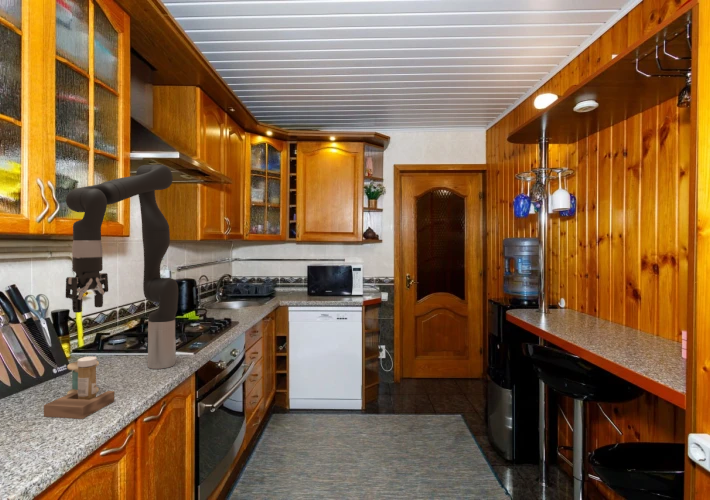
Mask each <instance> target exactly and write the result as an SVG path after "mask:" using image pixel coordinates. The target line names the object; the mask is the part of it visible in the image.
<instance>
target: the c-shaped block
mask: <svg viewBox="0 0 710 500" xmlns="http://www.w3.org/2000/svg"><path fill="white" fill-rule="evenodd" d="M114 402H115V390H107V391H105V392H103V393H101V394H98V395H96V397H95V398H93V399H91V400H83V399H78V390H77V391H75V392H72V393H70V394H68V395H67V394H65V395H64V396H61V397H59V398H56V399H55V400H53V401H50V402H48V403H46V404H44V405H43V417H46V418H47V417H48V418H63V419H65V418H66V419H80V420H83V419H85V418H87V417H88V416H90V415H92V414H94V413H95V412H98V411H99V410H101V409H103V408H105V407H107V406H109V405H110V404H112V403H114Z"/></svg>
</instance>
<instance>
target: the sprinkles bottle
mask: <svg viewBox="0 0 710 500" xmlns="http://www.w3.org/2000/svg"><path fill="white" fill-rule="evenodd" d="M97 361H98V358H97V357H96V356H84V357H79V358H78V359H77V362H78V363H77V366H78V399H83V400H91V399H93V398H95V397H97V393H96V386H97V366H96V364H97Z"/></svg>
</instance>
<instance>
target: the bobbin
mask: <svg viewBox="0 0 710 500" xmlns="http://www.w3.org/2000/svg"><path fill="white" fill-rule="evenodd" d="M77 363H78V361H73V362H71V363H69V364H67V370H69V371H71V389H70V390H68V391H67V393H66V395H68V394H70V393H72V392H75V391H77V390H78V366H77ZM99 365H100V362H99V360H97V364H96V367H98V366H99ZM98 392H99V386H97V385H96V394H97V393H98Z"/></svg>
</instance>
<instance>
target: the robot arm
mask: <svg viewBox="0 0 710 500" xmlns="http://www.w3.org/2000/svg"><path fill="white" fill-rule="evenodd" d="M173 176H174V175H173V173H172V171H171V169H170V167H168V166H167V165H165V164H144V165H143V164H142V165H140V166H139V167H138V168H137V169H136V173H135V175H132V176H131V175H130V176H126V177H119V178H115V179H111V180H108V181H104V182H102V183H99V184H94V185H87V186H81V187H78V188H75V189H72V190H71V191H69V192H68V193H67V195H66V197H65V204H66V206H67V207H68V208H69V209H70V210H72V211H73V212H76V213H83V216H82V218H81V219H80V220H78V221H77V220H76V221H75V222H74V223H73V225H72V248H71V252H72V253H71V256H72V257H71V258H72V260H71V261H72V262H71V263H72V264H71V265H72V272H74V273H75V276H67V277H66V278H65V299H69V300H72V301H71V302H72V304H71V305H72V306H71V307H72V309H71V310H72V312H73V313H75V314H76V313H77V314H78V313H82V312H83V299H82V298H83V295H84V294H86V293H87V291H89V290H91V291H92V292H93V294H94V297H93V299H94V300H93V302H94V307H95V308H102V307H104V295H105V293H108V292H109V278H108V277H109V276H108V273H107V272H103V273H102V271H104V270H103V266H104V265H103V262H104V261H103V245H102V244H103V243H102V224H103V222H104V219H105V214H106V212H107V208H108V205H109V206H110V205H114V204H117V203H119V202H122V201H124V200H127V199H129V198H132V197H136V196H138V199H139V207H140V216H141V217H140V218H141V235H142V237H141V238H142V246H143V247H142V248H143V283H142V284H143V285H142V286H143V287H142V289H143V295H144V297H145V299H146V300H147V302H148V301H149V302H151V303H159V304H158V309H156V310H155V311H151V312H149V313H148V318H147V319H148V320H147V324H148V325H147V330H148V331H147V333H148V334H147V339H148V340H147V368H148V369H153V370H156V369H157V370H159V369H166V368H168V369H169V368H171V367H173V366H175V364H176V352H177V351H176V349H177V347H176V346H177V345H176V344H177V343H176V342H177V339H176V315H177V312H178V303H179V285H178V282H177V281H176V279H174V278H171V277H161V264H162V261H163V259H164V257H165V254H166V253H167V251H168V249H169V247H170V243H171V235H170V234H171V232H170V225H169V223H168V220H167V218H166V217H165V215H164V213H162V211H161V210H160V208H159V206H158V204H157V200H156V191H163V190H166V189H168V188H170V187H171V185H172V183H173V180H174V179H173V178H174V177H173Z"/></svg>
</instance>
